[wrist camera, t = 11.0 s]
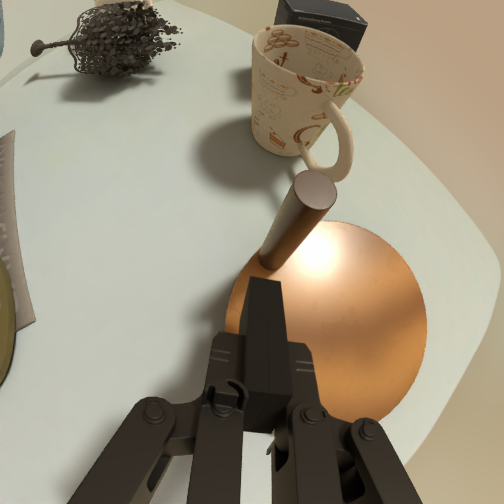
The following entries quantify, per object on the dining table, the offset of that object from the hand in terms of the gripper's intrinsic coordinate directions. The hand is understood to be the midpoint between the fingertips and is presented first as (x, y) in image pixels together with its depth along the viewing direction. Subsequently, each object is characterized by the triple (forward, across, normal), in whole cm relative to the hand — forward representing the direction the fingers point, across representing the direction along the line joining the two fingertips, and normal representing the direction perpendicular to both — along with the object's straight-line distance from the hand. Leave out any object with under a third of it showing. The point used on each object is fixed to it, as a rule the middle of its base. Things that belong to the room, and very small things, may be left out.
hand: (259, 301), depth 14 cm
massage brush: (+14, -23, +18) cm, 32 cm away
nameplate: (+8, -23, -1) cm, 25 cm away
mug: (+15, +2, +6) cm, 17 cm away
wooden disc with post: (+3, +6, -4) cm, 8 cm away
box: (+24, +2, +14) cm, 28 cm away
